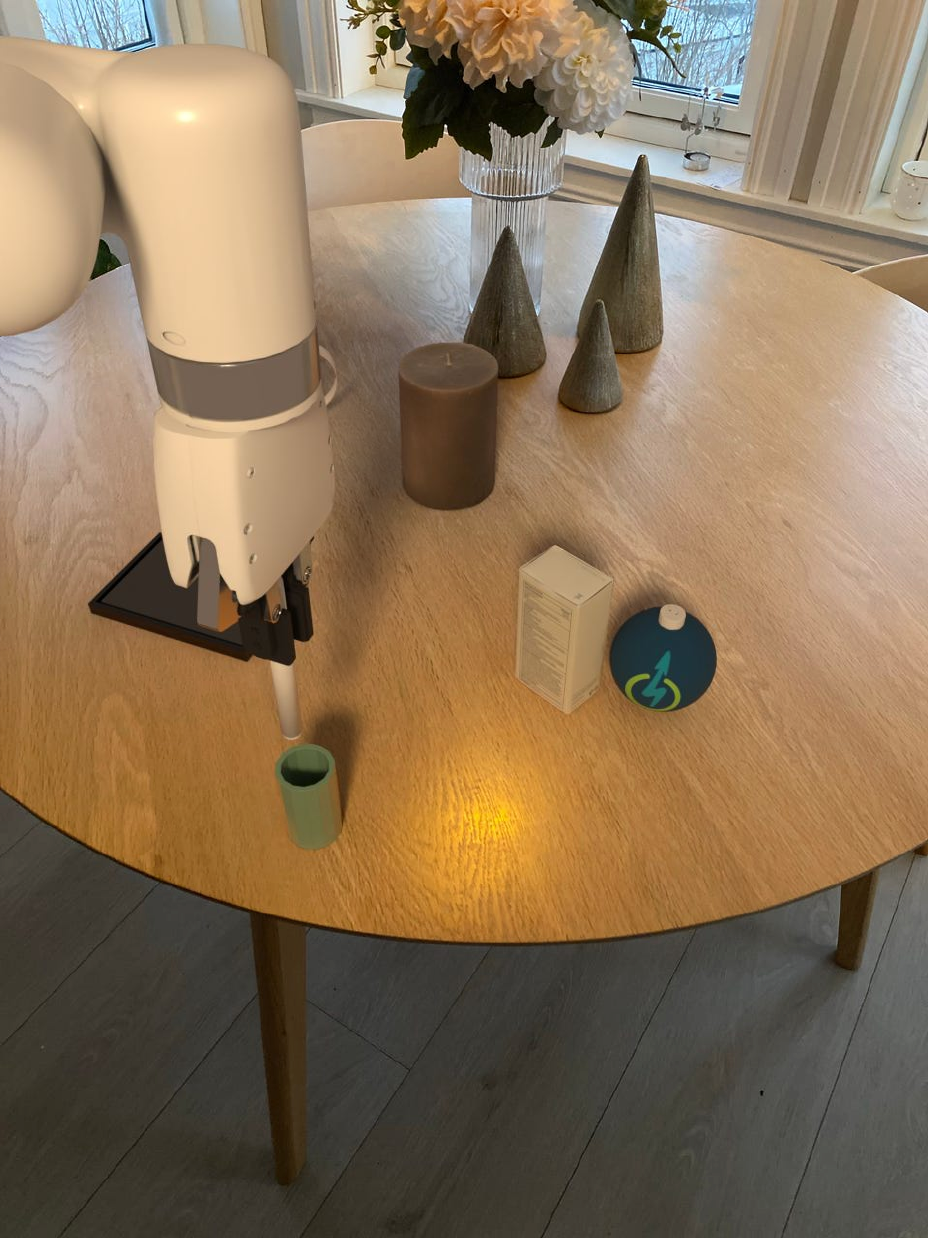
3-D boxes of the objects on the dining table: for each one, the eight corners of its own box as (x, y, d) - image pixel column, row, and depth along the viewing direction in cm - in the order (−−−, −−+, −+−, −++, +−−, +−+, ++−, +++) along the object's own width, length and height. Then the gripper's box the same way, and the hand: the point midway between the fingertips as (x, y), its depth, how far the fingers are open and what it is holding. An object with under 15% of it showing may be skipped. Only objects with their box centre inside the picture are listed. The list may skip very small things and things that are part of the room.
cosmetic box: (601, 690, 80) (619, 580, 71) (565, 718, 77) (580, 608, 69) (545, 651, 83) (556, 541, 74) (509, 677, 81) (516, 567, 72)
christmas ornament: (583, 696, 79) (596, 607, 72) (641, 643, 84) (658, 555, 77) (669, 750, 75) (692, 662, 68) (725, 691, 80) (751, 603, 73)
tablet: (90, 613, 85) (87, 603, 85) (162, 541, 93) (159, 531, 92) (247, 662, 81) (245, 652, 80) (308, 582, 89) (307, 573, 88)
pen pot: (276, 840, 69) (263, 780, 64) (303, 796, 71) (293, 736, 67) (326, 858, 68) (317, 799, 63) (351, 813, 70) (345, 753, 66)
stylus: (278, 741, 62) (251, 577, 52) (288, 725, 63) (264, 562, 53) (297, 747, 62) (273, 584, 52) (307, 732, 63) (286, 568, 53)
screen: (101, 603, 85) (100, 600, 85) (162, 541, 92) (162, 539, 91) (242, 646, 82) (242, 644, 81) (296, 579, 88) (295, 577, 88)
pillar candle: (485, 517, 96) (490, 383, 86) (391, 504, 98) (385, 371, 87) (501, 463, 103) (508, 333, 93) (413, 451, 105) (410, 323, 94)
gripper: (253, 279, 50) (287, 551, 63) (58, 427, 39) (147, 719, 52) (383, 306, 48) (392, 581, 61) (216, 469, 38) (268, 761, 50)
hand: (279, 643), depth 56 cm, fingers closed on stylus, 1 cm apart
